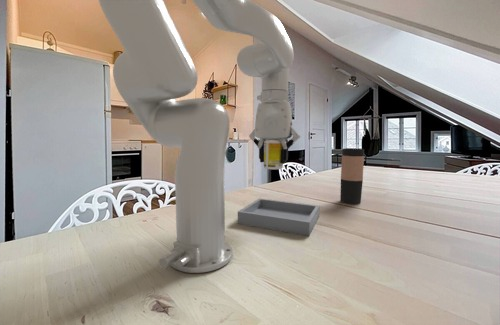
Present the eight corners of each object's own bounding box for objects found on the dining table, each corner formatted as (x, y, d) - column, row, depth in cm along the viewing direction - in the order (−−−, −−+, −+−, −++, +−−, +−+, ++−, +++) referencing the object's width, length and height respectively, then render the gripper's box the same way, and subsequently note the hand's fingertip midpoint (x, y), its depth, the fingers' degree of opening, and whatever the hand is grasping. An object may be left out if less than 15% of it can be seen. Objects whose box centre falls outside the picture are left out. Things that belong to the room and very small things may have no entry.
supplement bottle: (286, 168, 71) (287, 133, 70) (272, 170, 67) (273, 133, 66) (273, 166, 75) (274, 133, 74) (259, 168, 72) (260, 133, 71)
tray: (309, 236, 61) (309, 222, 60) (237, 223, 69) (237, 211, 69) (319, 216, 75) (319, 205, 75) (259, 208, 84) (259, 198, 83)
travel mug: (335, 199, 95) (337, 148, 93) (351, 198, 98) (354, 148, 95) (348, 205, 88) (351, 149, 86) (366, 203, 90) (369, 149, 88)
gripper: (241, 98, 70) (240, 161, 71) (301, 94, 62) (299, 165, 64) (252, 102, 76) (251, 159, 78) (308, 99, 69) (305, 163, 71)
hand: (273, 161), depth 71 cm, fingers closed on supplement bottle, 5 cm apart
